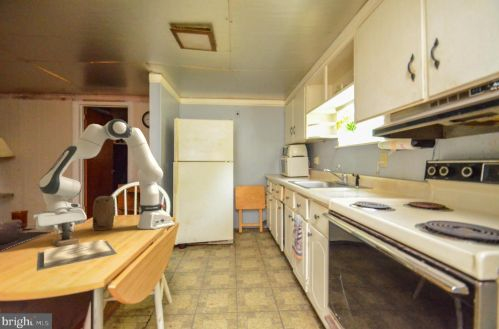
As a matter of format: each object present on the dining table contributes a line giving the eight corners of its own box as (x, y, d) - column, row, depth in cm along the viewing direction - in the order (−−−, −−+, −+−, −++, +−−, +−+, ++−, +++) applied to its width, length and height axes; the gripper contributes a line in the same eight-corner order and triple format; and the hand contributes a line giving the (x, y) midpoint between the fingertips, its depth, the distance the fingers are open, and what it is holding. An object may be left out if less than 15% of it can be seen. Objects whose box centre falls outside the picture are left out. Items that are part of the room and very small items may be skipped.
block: (114, 227, 150) (115, 195, 150) (111, 230, 142) (111, 196, 143) (95, 228, 147) (95, 195, 147) (90, 231, 140) (90, 197, 140)
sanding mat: (106, 242, 121) (106, 240, 121) (117, 255, 104) (117, 253, 104) (38, 254, 104) (38, 252, 104) (36, 272, 87) (36, 270, 87)
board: (102, 242, 118) (102, 239, 118) (110, 253, 104) (110, 249, 104) (44, 252, 104) (44, 249, 104) (44, 267, 89) (44, 263, 89)
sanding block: (53, 244, 117) (53, 222, 117) (70, 240, 123) (70, 220, 123) (60, 248, 111) (61, 225, 111) (78, 244, 117) (78, 222, 117)
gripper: (33, 209, 112) (40, 233, 107) (83, 203, 129) (91, 224, 124) (30, 217, 115) (37, 241, 109) (79, 211, 132) (87, 231, 126)
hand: (66, 232), depth 117 cm, fingers closed on sanding block, 3 cm apart
